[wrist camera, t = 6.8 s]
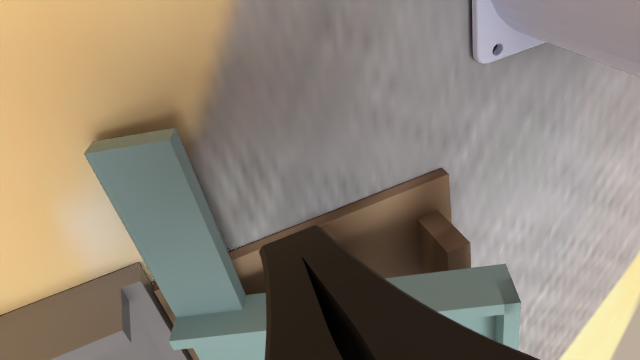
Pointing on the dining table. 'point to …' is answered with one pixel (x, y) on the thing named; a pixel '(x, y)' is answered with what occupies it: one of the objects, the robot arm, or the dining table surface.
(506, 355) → the robot arm
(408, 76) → the dining table surface
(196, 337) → the lever
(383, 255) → the base
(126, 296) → the tray
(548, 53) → the dining table surface
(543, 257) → the dining table surface
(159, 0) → the dining table surface
